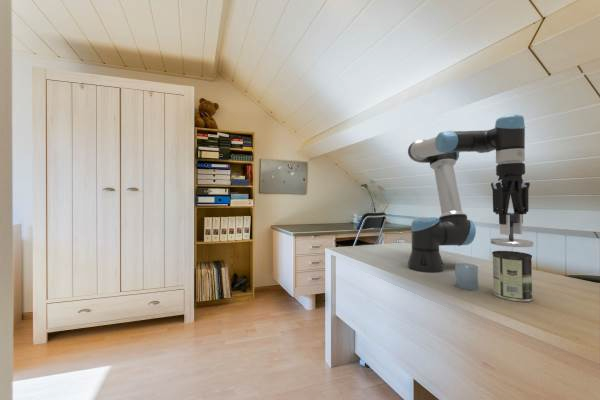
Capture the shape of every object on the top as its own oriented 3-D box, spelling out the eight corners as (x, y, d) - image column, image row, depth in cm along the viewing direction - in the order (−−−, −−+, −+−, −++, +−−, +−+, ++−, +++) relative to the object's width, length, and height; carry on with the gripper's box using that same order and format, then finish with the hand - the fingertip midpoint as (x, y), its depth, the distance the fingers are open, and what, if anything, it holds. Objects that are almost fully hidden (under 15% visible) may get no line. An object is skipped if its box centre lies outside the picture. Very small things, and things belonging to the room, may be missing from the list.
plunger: (482, 242, 92) (482, 212, 92) (508, 240, 95) (507, 212, 95) (514, 247, 81) (514, 214, 81) (542, 246, 84) (542, 213, 84)
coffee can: (520, 291, 92) (519, 250, 92) (540, 303, 82) (540, 257, 82) (486, 289, 94) (486, 250, 94) (502, 300, 84) (502, 256, 84)
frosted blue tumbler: (450, 285, 100) (450, 263, 100) (466, 283, 101) (466, 262, 101) (466, 291, 93) (466, 268, 93) (482, 289, 95) (482, 267, 95)
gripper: (499, 161, 82) (500, 236, 82) (543, 162, 86) (544, 234, 86) (478, 164, 90) (479, 233, 90) (519, 165, 94) (520, 231, 94)
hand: (511, 233), depth 88 cm, fingers closed on plunger, 4 cm apart
